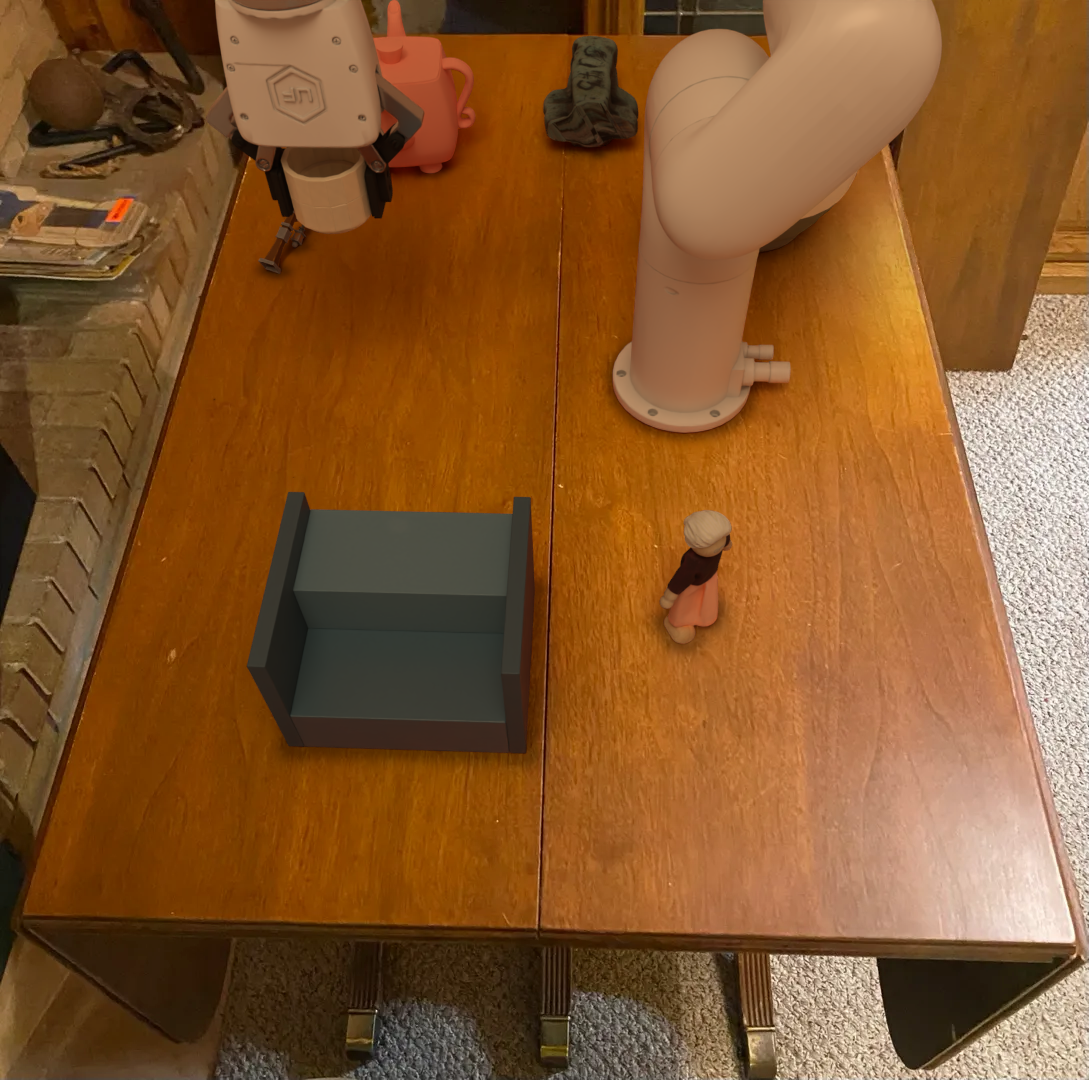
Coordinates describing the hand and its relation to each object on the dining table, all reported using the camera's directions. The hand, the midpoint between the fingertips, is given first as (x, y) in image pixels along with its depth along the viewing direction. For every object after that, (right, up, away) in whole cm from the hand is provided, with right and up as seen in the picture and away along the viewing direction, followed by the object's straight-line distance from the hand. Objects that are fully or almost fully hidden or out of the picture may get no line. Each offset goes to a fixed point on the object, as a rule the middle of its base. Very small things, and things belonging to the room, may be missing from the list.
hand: (335, 205), depth 79 cm
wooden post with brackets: (-10, +4, +27) cm, 29 cm away
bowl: (+38, +8, +29) cm, 48 cm away
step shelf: (+7, -35, -2) cm, 36 cm away
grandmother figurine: (+28, -32, +1) cm, 42 cm away
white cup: (0, 0, +1) cm, 1 cm away
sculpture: (+22, +23, +40) cm, 51 cm away
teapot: (0, +18, +37) cm, 41 cm away
